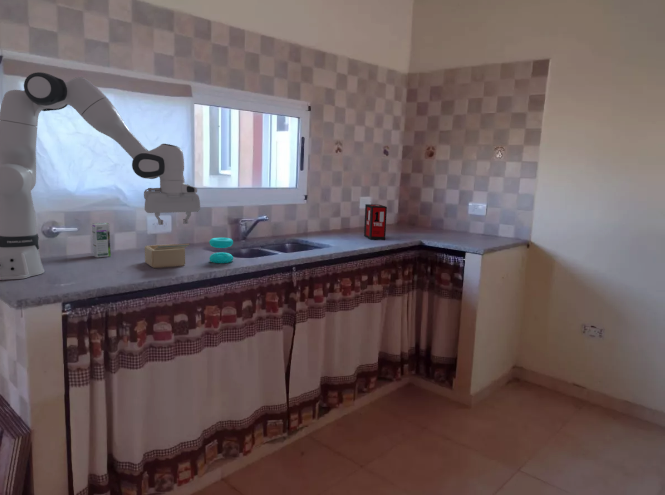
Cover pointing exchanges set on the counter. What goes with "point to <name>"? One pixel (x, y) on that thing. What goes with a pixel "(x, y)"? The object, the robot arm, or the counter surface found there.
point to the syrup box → (101, 239)
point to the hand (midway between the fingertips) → (173, 224)
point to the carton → (164, 257)
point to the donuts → (221, 256)
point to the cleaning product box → (375, 221)
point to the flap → (171, 246)
